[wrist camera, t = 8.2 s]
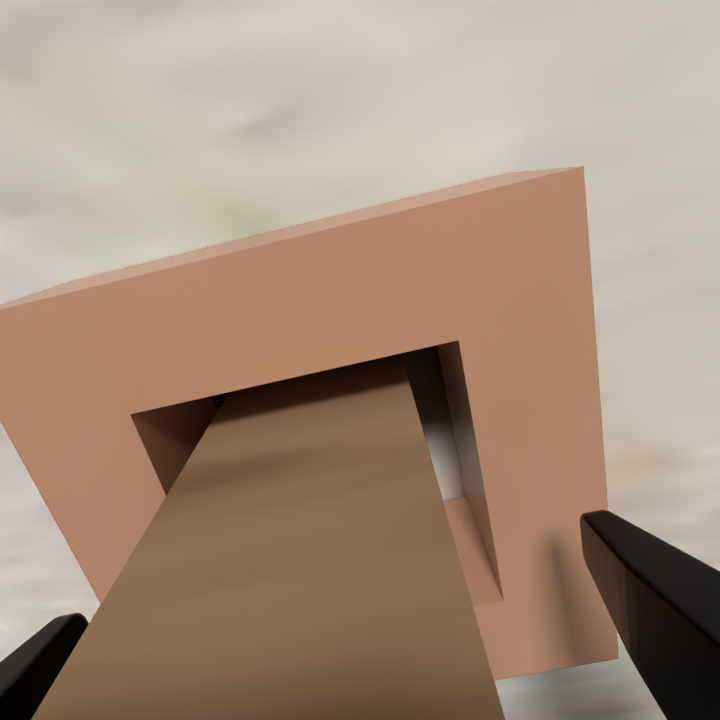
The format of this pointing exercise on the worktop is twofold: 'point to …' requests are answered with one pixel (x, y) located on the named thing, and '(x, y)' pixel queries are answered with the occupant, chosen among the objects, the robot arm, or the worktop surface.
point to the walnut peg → (292, 573)
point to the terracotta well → (336, 349)
